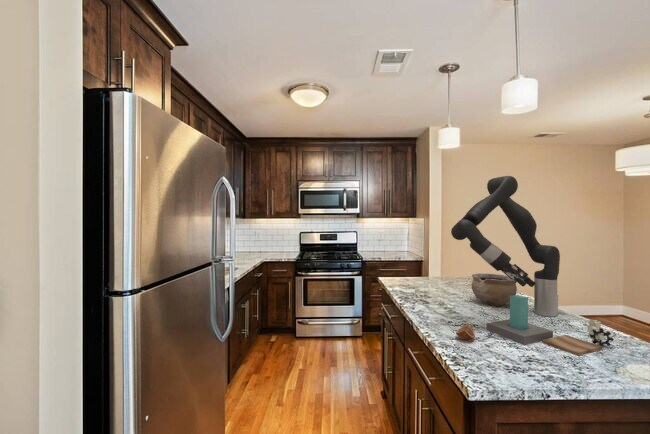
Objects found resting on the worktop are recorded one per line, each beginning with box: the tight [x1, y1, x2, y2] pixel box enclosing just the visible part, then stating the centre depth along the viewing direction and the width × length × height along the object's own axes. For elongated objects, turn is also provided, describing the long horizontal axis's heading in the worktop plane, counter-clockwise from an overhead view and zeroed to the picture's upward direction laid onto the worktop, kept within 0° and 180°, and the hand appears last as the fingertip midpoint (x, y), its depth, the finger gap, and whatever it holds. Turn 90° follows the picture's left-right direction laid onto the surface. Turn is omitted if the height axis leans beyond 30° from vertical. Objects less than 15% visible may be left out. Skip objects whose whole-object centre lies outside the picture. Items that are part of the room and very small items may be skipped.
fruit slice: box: [455, 323, 476, 341], centre depth 120 cm, size 8×7×5 cm
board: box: [541, 334, 604, 357], centre depth 115 cm, size 14×12×1 cm
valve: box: [587, 319, 614, 348], centre depth 119 cm, size 7×7×12 cm
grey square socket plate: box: [486, 318, 554, 346], centre depth 126 cm, size 16×16×3 cm
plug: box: [509, 294, 529, 330], centre depth 126 cm, size 4×4×15 cm
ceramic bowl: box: [471, 272, 518, 306], centre depth 172 cm, size 22×22×15 cm
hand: (529, 285), depth 126 cm, fingers open, 8 cm apart
